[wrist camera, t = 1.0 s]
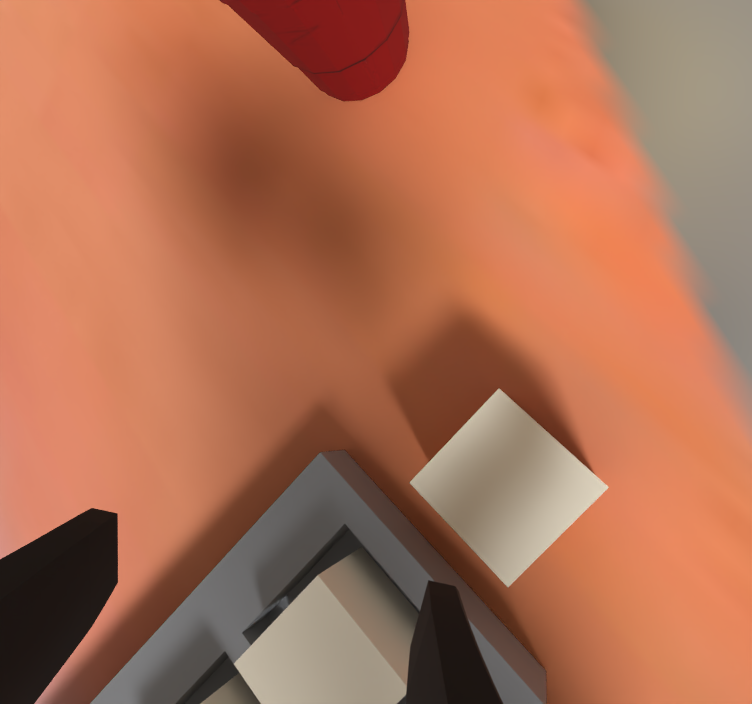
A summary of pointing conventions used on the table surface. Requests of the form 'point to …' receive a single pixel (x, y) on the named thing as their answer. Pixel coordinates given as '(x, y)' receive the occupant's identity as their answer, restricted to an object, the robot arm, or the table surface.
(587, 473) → the loose block
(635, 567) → the table surface
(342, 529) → the puzzle board
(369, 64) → the plastic cup
